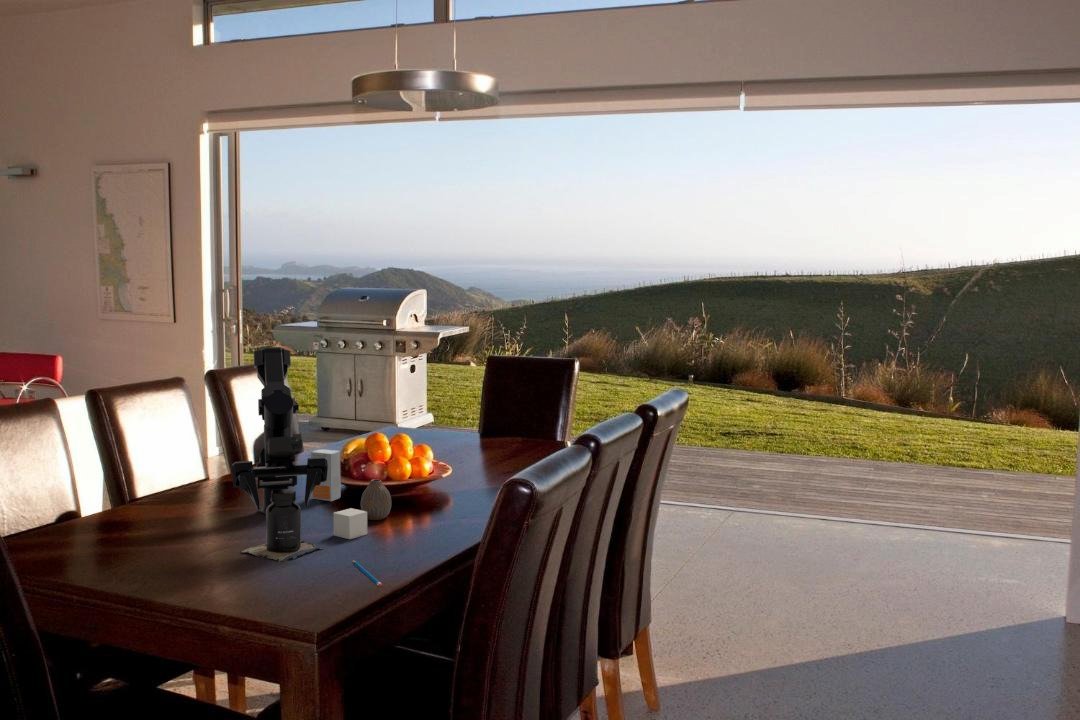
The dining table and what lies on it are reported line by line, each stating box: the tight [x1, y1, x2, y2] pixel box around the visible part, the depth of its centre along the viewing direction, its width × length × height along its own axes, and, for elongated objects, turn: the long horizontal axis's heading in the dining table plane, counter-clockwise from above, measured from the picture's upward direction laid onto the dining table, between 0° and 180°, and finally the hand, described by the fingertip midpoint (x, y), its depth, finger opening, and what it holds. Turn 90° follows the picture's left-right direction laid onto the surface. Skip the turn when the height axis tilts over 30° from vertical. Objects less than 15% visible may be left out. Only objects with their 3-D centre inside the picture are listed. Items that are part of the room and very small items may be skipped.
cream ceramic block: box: [333, 507, 368, 540], centre depth 201 cm, size 5×5×5 cm
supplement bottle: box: [265, 488, 302, 553], centre depth 189 cm, size 7×7×12 cm
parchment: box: [240, 540, 323, 563], centre depth 189 cm, size 12×13×1 cm
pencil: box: [352, 560, 384, 588], centre depth 175 cm, size 1×17×1 cm, turn 29°
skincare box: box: [310, 448, 341, 502], centre depth 232 cm, size 6×4×12 cm
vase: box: [360, 478, 392, 521], centre depth 214 cm, size 7×7×9 cm
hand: (282, 507), depth 187 cm, fingers open, 9 cm apart
